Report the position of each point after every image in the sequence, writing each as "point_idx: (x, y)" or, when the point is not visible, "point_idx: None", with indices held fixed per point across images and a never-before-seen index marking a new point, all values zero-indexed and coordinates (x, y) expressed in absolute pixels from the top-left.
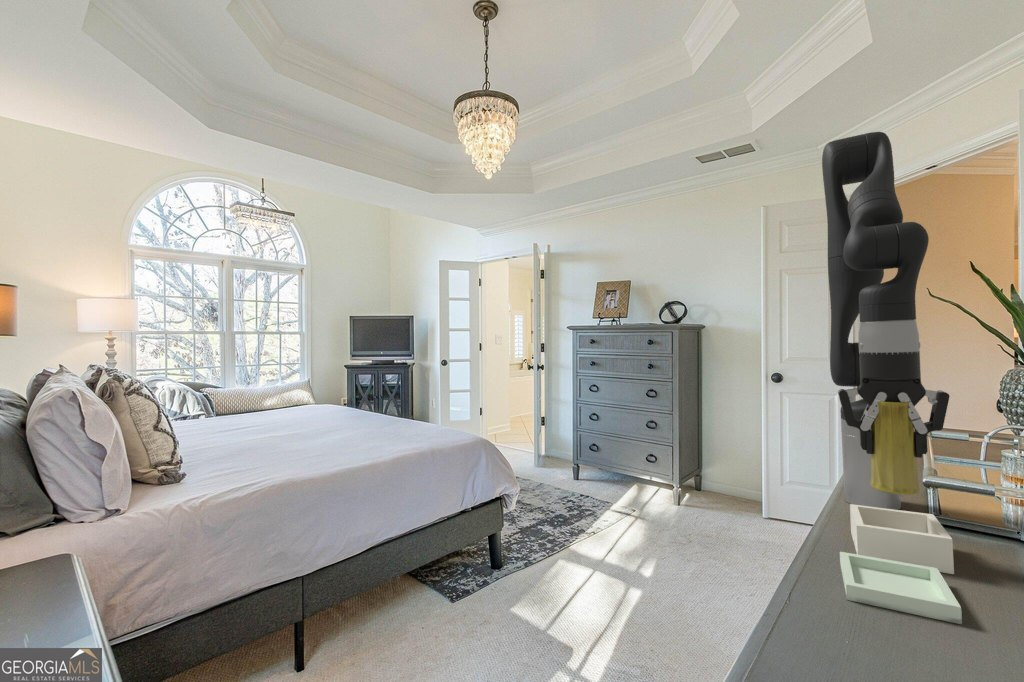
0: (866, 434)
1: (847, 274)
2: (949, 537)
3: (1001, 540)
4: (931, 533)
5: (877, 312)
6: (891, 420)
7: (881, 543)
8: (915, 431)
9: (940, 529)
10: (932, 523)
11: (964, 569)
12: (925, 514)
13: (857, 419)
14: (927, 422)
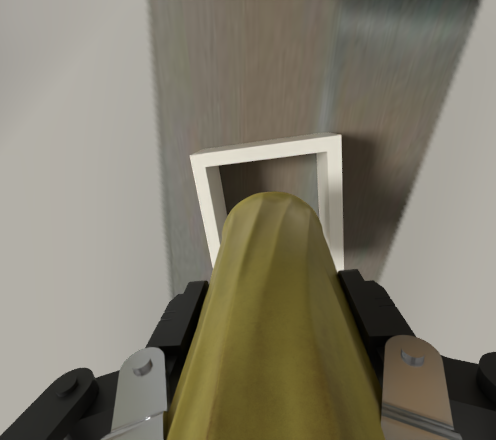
0: None
1: None
2: (341, 266)
3: (456, 10)
4: (323, 184)
5: None
6: None
7: None
8: (377, 371)
9: (336, 231)
10: (329, 202)
11: (347, 218)
12: (326, 146)
13: (104, 414)
14: (477, 415)
